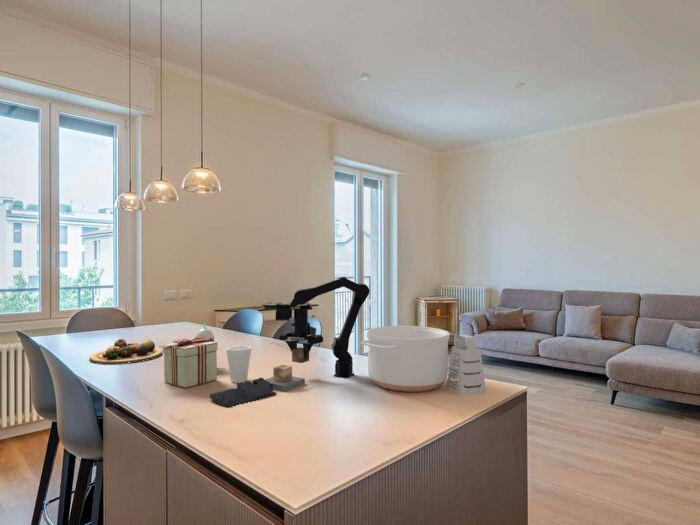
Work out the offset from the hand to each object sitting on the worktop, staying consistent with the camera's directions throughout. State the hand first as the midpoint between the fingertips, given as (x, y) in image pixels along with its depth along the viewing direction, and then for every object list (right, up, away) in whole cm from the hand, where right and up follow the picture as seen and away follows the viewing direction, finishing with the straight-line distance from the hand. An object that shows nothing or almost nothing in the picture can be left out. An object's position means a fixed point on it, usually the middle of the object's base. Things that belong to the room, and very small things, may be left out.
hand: (300, 358), depth 177 cm
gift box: (-44, -8, -6) cm, 45 cm away
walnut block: (0, -1, 0) cm, 1 cm away
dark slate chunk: (-17, -8, -25) cm, 32 cm away
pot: (+43, -8, -9) cm, 44 cm away
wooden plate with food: (-90, -8, +37) cm, 98 cm away
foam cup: (-24, -8, -6) cm, 26 cm away
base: (-5, -8, -12) cm, 15 cm away
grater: (+63, -8, -17) cm, 66 cm away
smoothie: (-45, -8, +16) cm, 48 cm away
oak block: (-5, -6, -12) cm, 14 cm away
